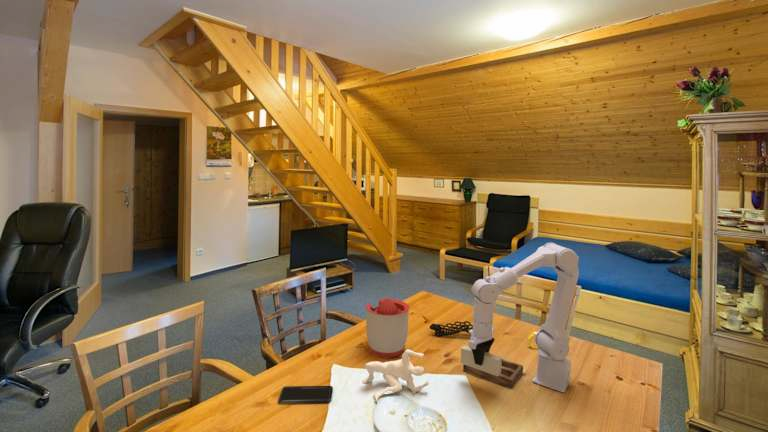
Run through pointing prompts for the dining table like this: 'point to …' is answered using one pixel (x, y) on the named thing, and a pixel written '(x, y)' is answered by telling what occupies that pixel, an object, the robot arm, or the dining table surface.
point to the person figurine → (396, 373)
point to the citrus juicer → (387, 327)
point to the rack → (505, 378)
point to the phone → (306, 395)
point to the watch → (530, 338)
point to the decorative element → (443, 333)
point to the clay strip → (489, 363)
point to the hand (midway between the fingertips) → (480, 362)
